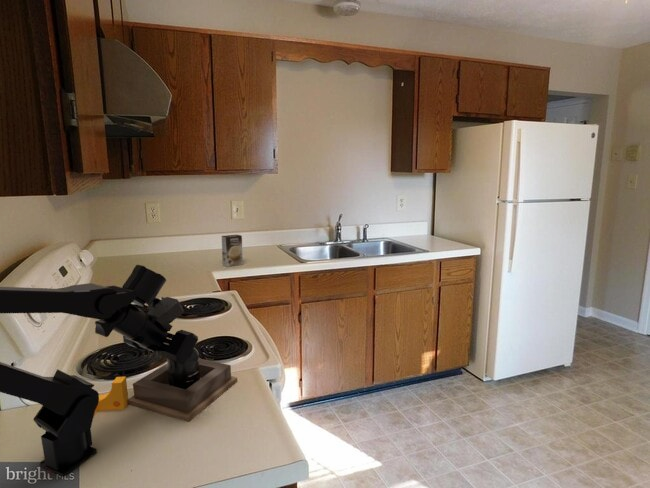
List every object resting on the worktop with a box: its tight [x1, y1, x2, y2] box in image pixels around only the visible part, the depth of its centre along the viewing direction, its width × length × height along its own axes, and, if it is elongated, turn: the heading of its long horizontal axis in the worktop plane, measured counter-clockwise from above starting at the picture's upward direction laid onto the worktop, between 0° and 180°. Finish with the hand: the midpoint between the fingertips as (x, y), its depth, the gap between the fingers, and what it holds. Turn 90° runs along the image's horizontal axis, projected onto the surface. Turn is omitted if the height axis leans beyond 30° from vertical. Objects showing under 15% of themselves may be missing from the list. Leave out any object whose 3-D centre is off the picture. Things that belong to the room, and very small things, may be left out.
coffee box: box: [221, 234, 244, 268], centre depth 214 cm, size 9×6×16 cm
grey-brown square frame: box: [127, 358, 238, 423], centre depth 92 cm, size 17×17×4 cm
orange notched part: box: [94, 375, 129, 416], centre depth 85 cm, size 12×4×6 cm, turn 97°
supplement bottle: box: [166, 347, 200, 389], centre depth 90 cm, size 7×7×12 cm
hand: (183, 354), depth 91 cm, fingers open, 9 cm apart
